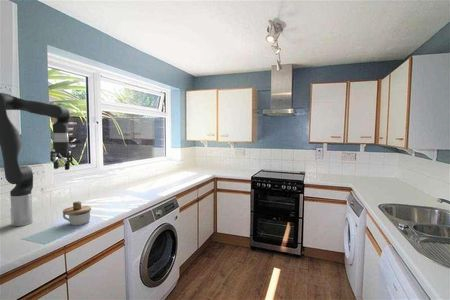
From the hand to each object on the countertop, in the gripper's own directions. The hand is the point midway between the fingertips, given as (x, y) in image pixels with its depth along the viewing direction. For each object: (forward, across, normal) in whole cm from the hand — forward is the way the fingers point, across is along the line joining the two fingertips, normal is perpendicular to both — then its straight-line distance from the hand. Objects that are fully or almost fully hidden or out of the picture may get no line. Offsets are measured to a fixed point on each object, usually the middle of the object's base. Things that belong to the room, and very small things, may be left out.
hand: (61, 169), depth 135 cm
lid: (+24, +8, +2) cm, 26 cm away
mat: (+32, +10, -15) cm, 37 cm away
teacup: (+32, +8, +2) cm, 33 cm away
